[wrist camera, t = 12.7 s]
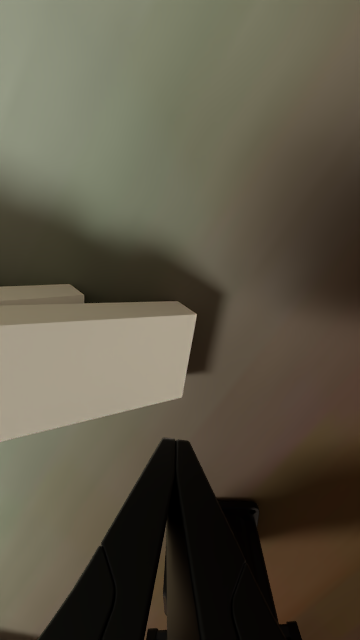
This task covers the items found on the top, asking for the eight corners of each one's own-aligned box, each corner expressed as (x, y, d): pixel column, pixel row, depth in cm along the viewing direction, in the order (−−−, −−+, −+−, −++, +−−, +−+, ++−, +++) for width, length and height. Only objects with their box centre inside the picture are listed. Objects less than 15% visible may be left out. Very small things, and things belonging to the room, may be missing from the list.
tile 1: (197, 314, 13) (-85, 330, 8) (181, 397, 14) (-54, 454, 9) (177, 300, 14) (-67, 307, 9) (166, 377, 16) (-44, 417, 11)
